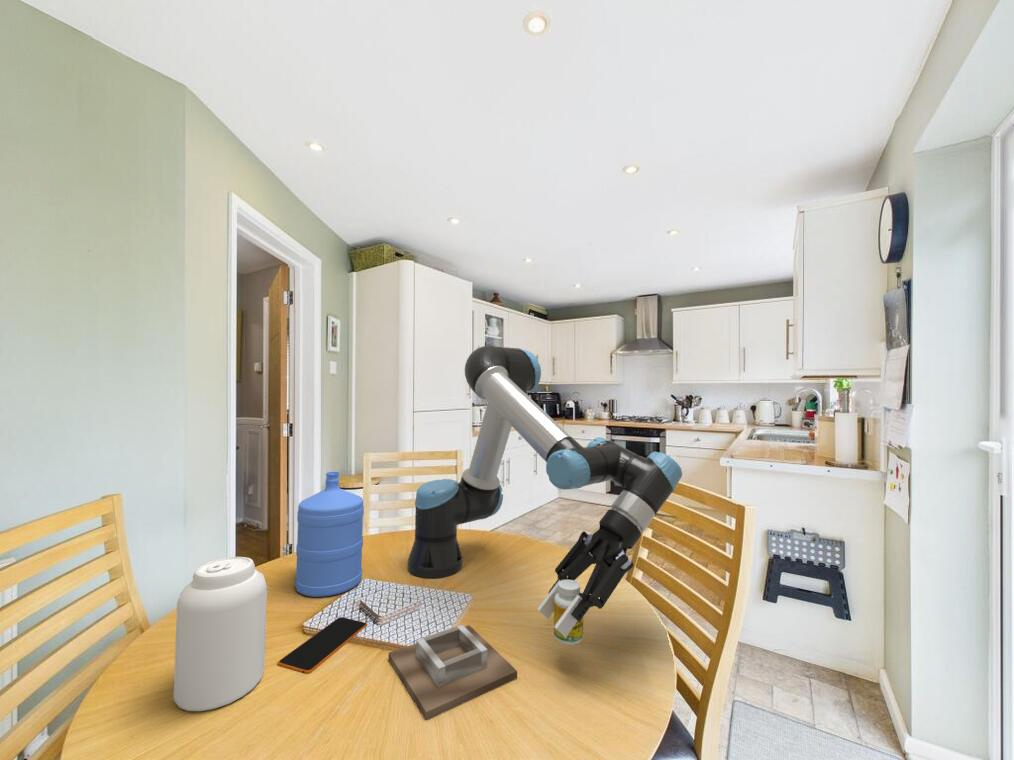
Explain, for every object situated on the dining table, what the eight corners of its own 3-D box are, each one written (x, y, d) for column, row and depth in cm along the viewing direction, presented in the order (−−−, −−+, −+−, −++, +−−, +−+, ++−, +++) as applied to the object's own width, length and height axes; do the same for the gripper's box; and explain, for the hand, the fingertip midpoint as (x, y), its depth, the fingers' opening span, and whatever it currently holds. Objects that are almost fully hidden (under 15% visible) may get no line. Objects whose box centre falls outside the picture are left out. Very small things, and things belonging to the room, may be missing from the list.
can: (163, 725, 61) (168, 587, 62) (182, 673, 73) (186, 557, 73) (262, 698, 67) (266, 572, 68) (265, 653, 78) (269, 545, 79)
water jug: (370, 587, 105) (373, 475, 106) (302, 605, 96) (306, 482, 96) (351, 565, 118) (354, 465, 118) (289, 580, 108) (292, 471, 109)
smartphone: (368, 626, 89) (368, 622, 89) (308, 677, 73) (309, 672, 73) (339, 619, 91) (339, 615, 91) (275, 667, 75) (275, 662, 75)
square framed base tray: (388, 659, 77) (389, 636, 77) (468, 630, 87) (469, 610, 87) (426, 720, 63) (426, 691, 63) (517, 677, 73) (517, 653, 73)
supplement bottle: (569, 625, 80) (570, 575, 80) (589, 640, 76) (590, 586, 76) (547, 633, 77) (548, 581, 77) (566, 649, 73) (568, 594, 73)
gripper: (671, 549, 75) (593, 665, 68) (606, 518, 91) (538, 609, 84) (649, 523, 73) (566, 640, 66) (587, 496, 89) (515, 587, 82)
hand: (551, 622), depth 75 cm, fingers closed on supplement bottle, 5 cm apart
